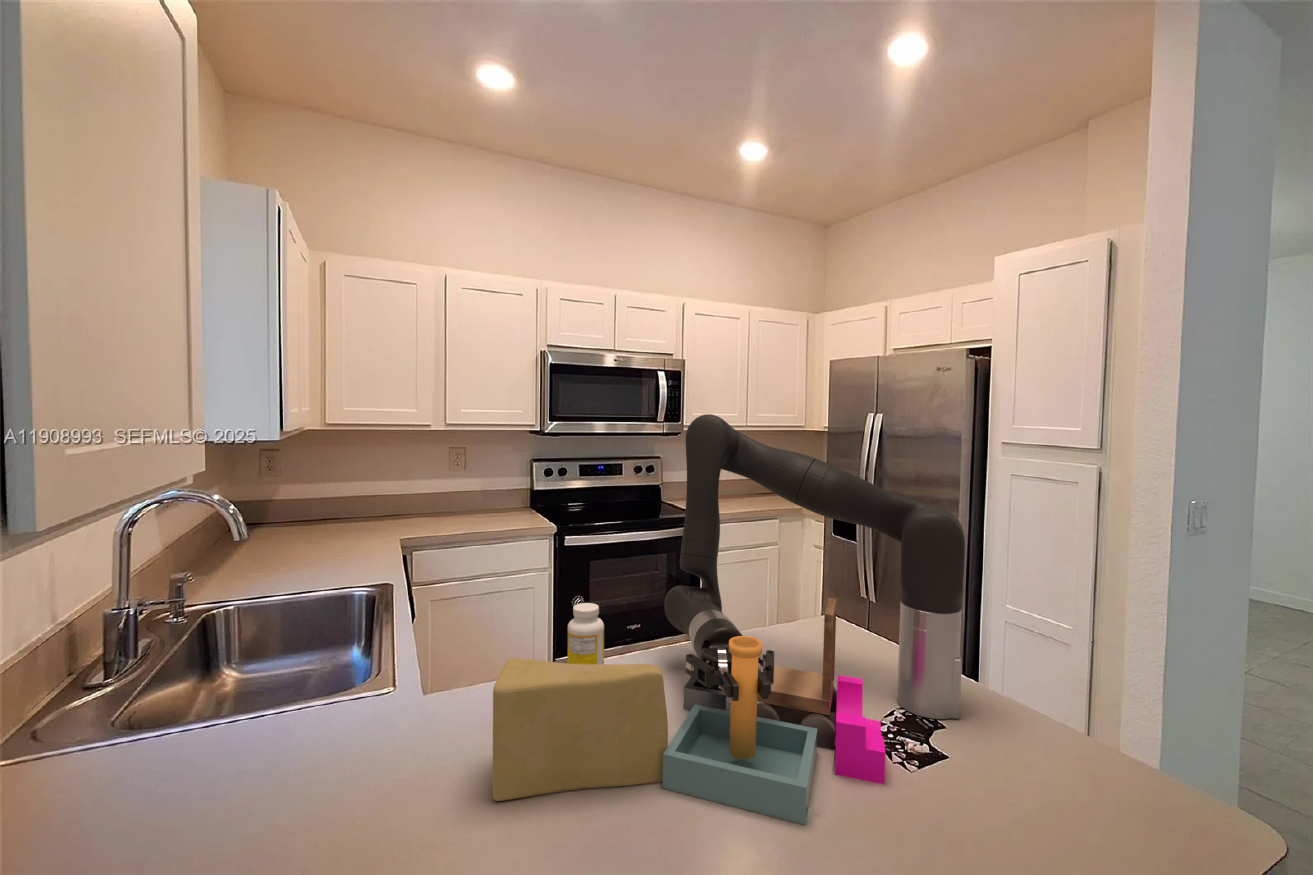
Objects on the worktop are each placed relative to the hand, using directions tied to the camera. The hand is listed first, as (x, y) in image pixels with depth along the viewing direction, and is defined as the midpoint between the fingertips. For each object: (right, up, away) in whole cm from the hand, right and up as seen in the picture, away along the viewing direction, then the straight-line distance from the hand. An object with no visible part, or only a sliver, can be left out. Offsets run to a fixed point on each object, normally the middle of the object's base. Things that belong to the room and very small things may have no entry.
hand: (751, 692), depth 75 cm
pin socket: (-3, -12, +20) cm, 24 cm away
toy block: (+17, -13, +10) cm, 23 cm away
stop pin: (-1, -9, +3) cm, 10 cm away
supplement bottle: (-25, -11, +32) cm, 42 cm away
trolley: (+9, -12, +16) cm, 22 cm away
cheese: (-22, -12, +2) cm, 25 cm away
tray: (-1, -12, +3) cm, 13 cm away
